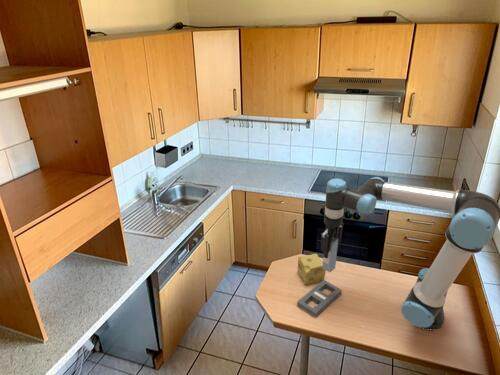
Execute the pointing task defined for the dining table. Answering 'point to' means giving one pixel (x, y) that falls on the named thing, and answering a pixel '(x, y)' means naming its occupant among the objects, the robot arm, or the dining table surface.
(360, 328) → the dining table surface
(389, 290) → the dining table surface
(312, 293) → the port panel
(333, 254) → the plug
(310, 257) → the cheese
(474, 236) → the robot arm
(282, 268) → the dining table surface
